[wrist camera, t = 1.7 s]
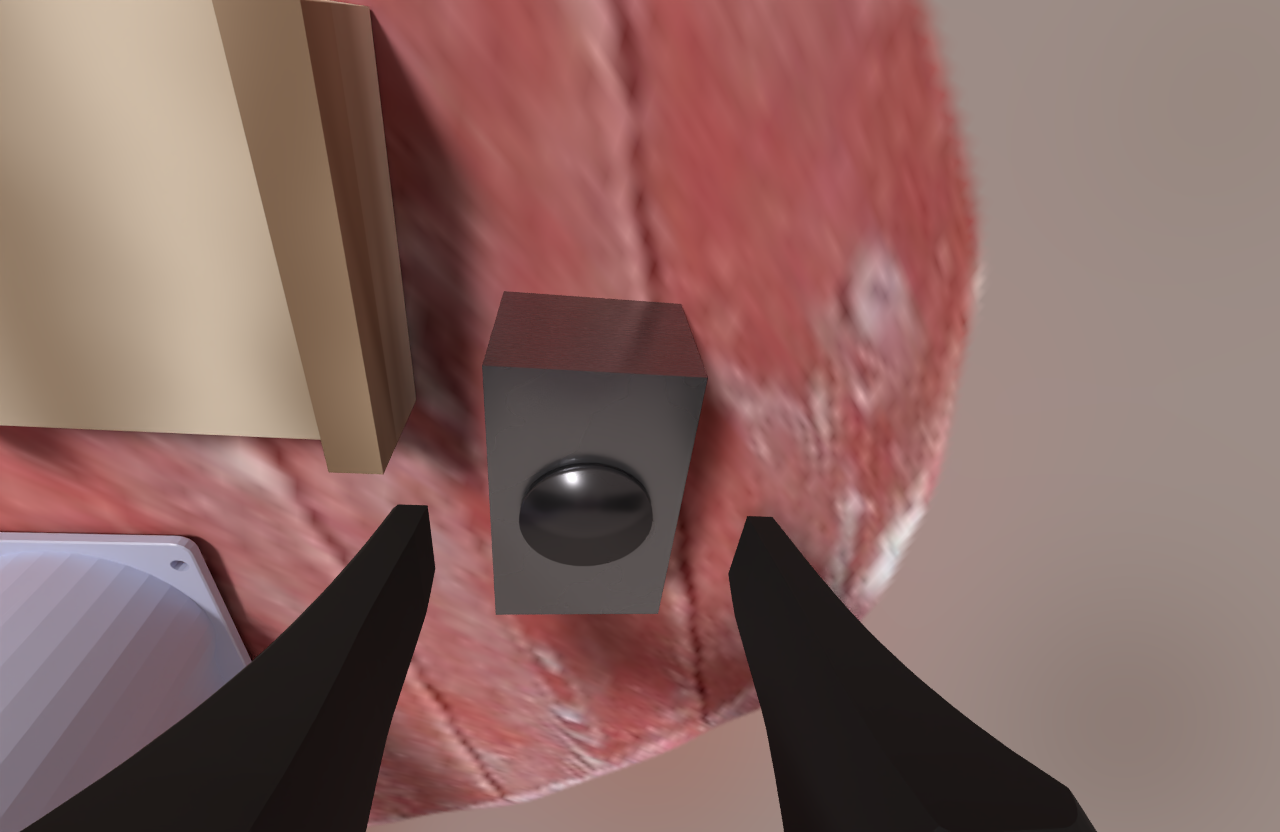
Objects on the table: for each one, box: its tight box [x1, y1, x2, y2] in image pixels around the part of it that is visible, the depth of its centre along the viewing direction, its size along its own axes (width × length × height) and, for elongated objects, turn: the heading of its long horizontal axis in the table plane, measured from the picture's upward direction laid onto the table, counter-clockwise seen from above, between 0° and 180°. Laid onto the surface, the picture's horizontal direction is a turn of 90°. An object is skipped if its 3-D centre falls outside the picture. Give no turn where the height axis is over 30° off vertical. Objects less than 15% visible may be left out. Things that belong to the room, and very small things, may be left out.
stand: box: [0, 0, 416, 474], centre depth 11 cm, size 12×9×3 cm
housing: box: [482, 291, 708, 615], centre depth 15 cm, size 8×5×4 cm, turn 174°
